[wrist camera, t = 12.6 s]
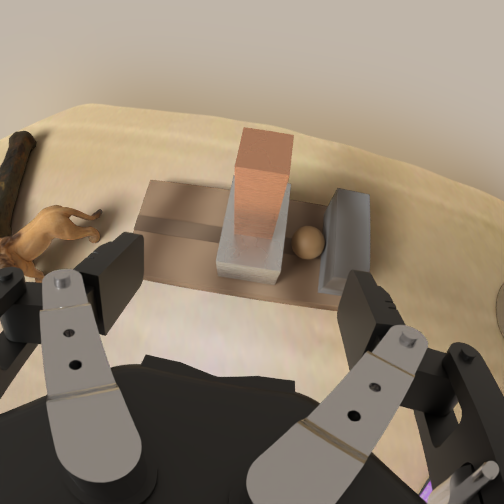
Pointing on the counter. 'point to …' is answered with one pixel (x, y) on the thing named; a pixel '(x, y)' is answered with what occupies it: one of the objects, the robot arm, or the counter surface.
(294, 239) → the hazelnut
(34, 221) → the lion figurine
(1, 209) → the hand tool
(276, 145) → the block
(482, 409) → the robot arm
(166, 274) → the press base
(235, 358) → the counter surface
